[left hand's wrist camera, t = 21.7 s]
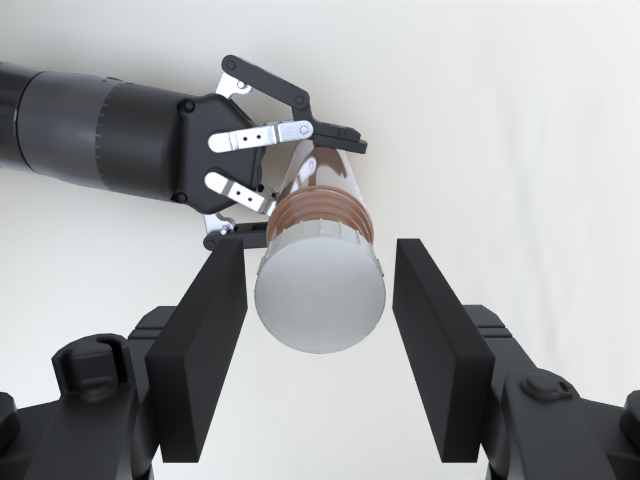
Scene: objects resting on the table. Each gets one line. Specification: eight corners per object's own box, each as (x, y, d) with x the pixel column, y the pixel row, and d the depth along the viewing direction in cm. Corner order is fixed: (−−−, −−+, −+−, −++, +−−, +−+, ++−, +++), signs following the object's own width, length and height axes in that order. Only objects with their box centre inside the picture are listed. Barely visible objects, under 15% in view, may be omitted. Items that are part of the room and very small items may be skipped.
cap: (403, 275, 15) (414, 300, 13) (318, 344, 16) (318, 376, 14) (321, 192, 13) (322, 207, 12) (236, 272, 14) (225, 297, 13)
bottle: (348, 134, 35) (399, 224, 13) (344, 188, 37) (383, 351, 14) (293, 131, 35) (247, 217, 13) (292, 185, 37) (249, 345, 14)
